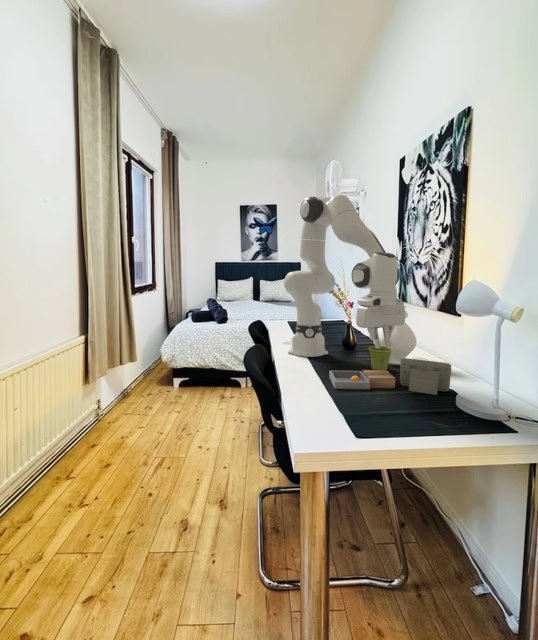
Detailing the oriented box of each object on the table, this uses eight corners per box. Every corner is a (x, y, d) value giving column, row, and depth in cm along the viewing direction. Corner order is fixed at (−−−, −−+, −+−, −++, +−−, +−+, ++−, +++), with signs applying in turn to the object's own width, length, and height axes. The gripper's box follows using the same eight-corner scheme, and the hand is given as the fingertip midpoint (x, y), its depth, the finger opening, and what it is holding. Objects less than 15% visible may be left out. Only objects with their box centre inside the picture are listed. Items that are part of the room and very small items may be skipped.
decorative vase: (376, 354, 181) (379, 302, 177) (416, 358, 173) (420, 304, 170) (369, 363, 165) (372, 305, 161) (413, 368, 158) (417, 308, 154)
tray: (329, 376, 144) (329, 370, 144) (361, 377, 144) (361, 371, 144) (334, 388, 130) (334, 381, 130) (369, 389, 130) (370, 382, 130)
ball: (350, 378, 137) (358, 375, 136) (353, 386, 135) (361, 383, 135) (348, 376, 135) (356, 373, 134) (351, 384, 133) (360, 380, 132)
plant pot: (392, 373, 150) (393, 351, 149) (367, 371, 152) (369, 350, 151) (390, 367, 159) (391, 346, 158) (366, 365, 161) (367, 345, 160)
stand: (362, 379, 142) (362, 369, 141) (386, 379, 142) (387, 370, 141) (368, 387, 132) (369, 377, 131) (394, 388, 132) (395, 378, 131)
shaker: (382, 344, 138) (379, 324, 138) (394, 345, 133) (391, 323, 133) (371, 348, 135) (367, 327, 135) (383, 348, 130) (379, 326, 130)
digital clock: (451, 391, 129) (454, 361, 128) (445, 398, 122) (448, 366, 121) (403, 382, 139) (405, 353, 137) (395, 388, 132) (396, 358, 130)
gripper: (397, 297, 140) (394, 334, 142) (354, 299, 130) (352, 339, 132) (410, 299, 135) (408, 337, 137) (367, 301, 125) (365, 342, 127)
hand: (380, 338), depth 134 cm, fingers closed on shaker, 6 cm apart
